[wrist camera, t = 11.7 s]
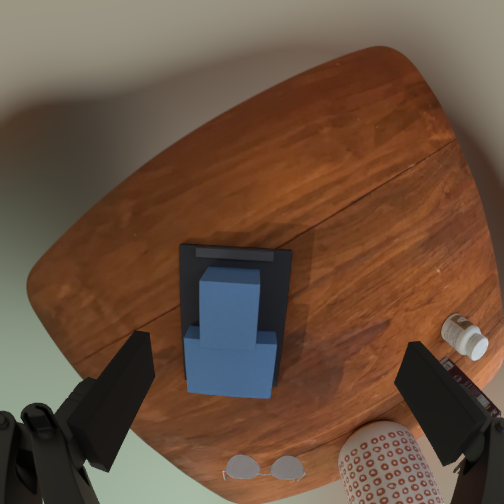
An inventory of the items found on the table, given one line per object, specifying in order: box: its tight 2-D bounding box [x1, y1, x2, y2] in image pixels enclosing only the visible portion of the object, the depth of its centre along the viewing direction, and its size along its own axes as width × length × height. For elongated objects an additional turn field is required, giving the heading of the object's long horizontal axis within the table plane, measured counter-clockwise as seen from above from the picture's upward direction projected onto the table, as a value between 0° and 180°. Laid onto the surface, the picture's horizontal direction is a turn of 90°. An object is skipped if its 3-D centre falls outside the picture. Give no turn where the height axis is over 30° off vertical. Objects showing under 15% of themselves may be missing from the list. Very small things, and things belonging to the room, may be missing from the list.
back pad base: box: [180, 244, 292, 398], centre depth 30 cm, size 18×12×4 cm, turn 177°
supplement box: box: [440, 357, 501, 418], centre depth 26 cm, size 9×5×16 cm, turn 31°
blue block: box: [199, 266, 260, 351], centre depth 28 cm, size 7×6×5 cm
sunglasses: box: [223, 455, 306, 481], centre depth 37 cm, size 14×8×5 cm, turn 86°
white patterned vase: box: [338, 420, 444, 504], centre depth 23 cm, size 13×13×28 cm
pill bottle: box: [441, 314, 488, 361], centre depth 28 cm, size 4×4×8 cm
